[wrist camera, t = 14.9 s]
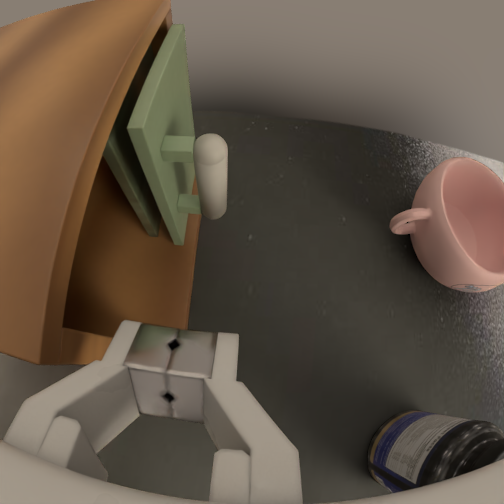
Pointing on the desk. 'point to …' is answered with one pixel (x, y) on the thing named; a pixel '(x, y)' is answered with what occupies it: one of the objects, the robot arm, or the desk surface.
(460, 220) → the mug
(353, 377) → the desk surface
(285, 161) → the desk surface
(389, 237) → the desk surface
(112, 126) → the cupboard
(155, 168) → the sliding door
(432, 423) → the pill bottle
